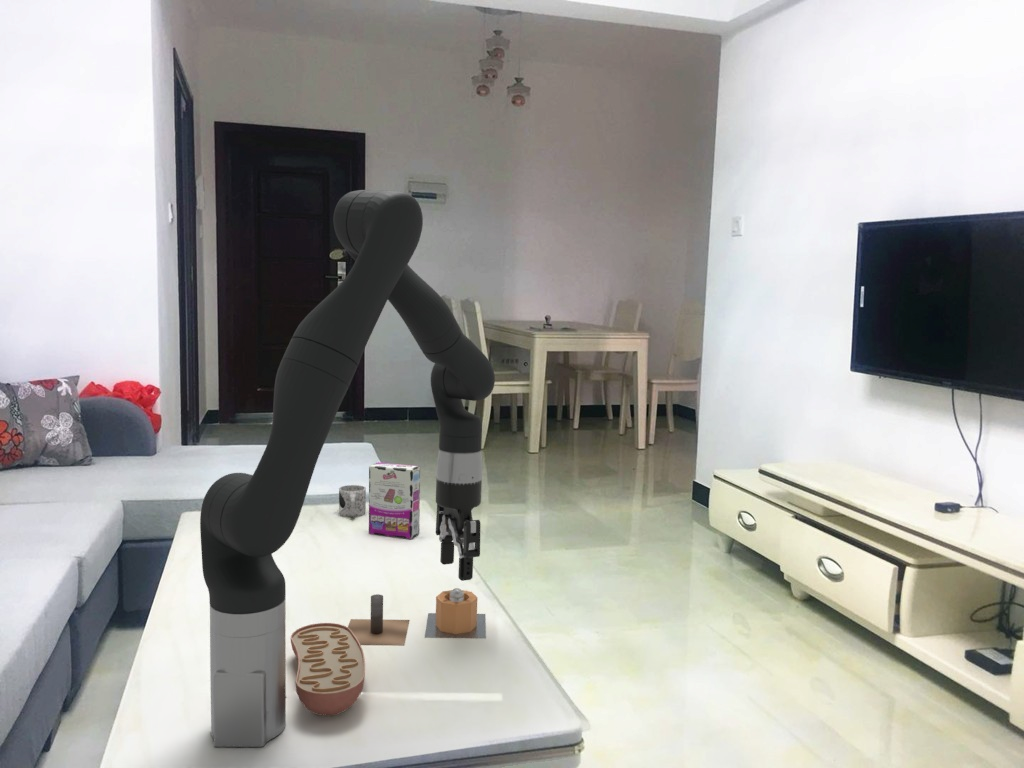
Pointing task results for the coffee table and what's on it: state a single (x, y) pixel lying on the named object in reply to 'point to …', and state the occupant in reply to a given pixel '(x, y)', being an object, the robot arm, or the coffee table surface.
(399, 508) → the candy bar box
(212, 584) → the robot arm
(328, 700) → the anatomical model
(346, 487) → the mug
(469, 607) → the collar
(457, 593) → the silver peg on base
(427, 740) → the coffee table surface
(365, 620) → the stand
